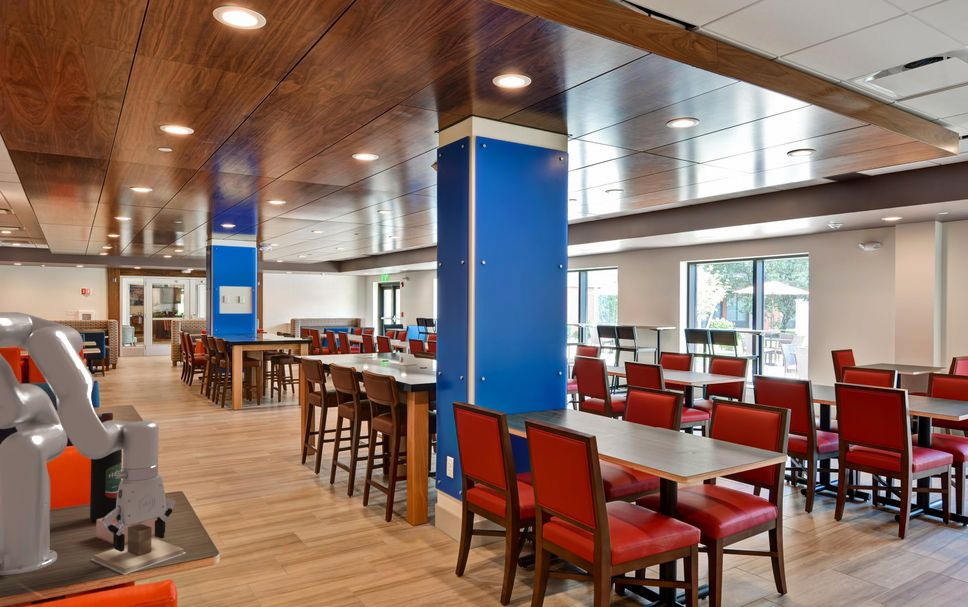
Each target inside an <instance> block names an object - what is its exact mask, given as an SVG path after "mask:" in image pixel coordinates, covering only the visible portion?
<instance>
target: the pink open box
mask: <svg viewBox="0 0 968 607" xmlns="http://www.w3.org/2000/svg"><path fill="white" fill-rule="evenodd" d="M101 520H102V518H101V519H97V521H96V523H95V524H96V528H95V529H96V531H95V532H96V534H95V537H96V538H97V539H99V540H102V541H104V542H107V543H108V544H111V545H113V533H111V532H110V531H109V530H107V529H106V527H105V526H104V524H103V522H102V521H101ZM155 520H157V518H155V519H151V520H148V521H145V522H141V523H138V524H143V525H146V526H149V527H152V536H151V537H153V536H154V537H155ZM111 522H112V524H113V525H115V524H116V522H117V521H116V517H115V518H114V519H112V521H111ZM134 525H137V524H134ZM130 526H133V525H127V527H126V528H125V530H124V531H123V532H122V534H124V535H125V545H128V527H130Z"/></svg>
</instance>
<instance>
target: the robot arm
mask: <svg viewBox="0 0 968 607" xmlns="http://www.w3.org/2000/svg"><path fill="white" fill-rule="evenodd" d="M83 346H84V340H83V337H82V335H81V334H80V333H79V331H78V330H77V329H75V328H73V327H71V326H69V325H65V324H63V323H58V322H55V321H52V320H48V319H45V318H41V317H38V316H35V315H32V314H27V313H23V312H18V311H17V312H16V311H15V312H14V311H3V312H2V311H0V349H1V348H3V349H5V348H14V347H15V348H19V349H23V350H26V351H27V352H28V354H29V356H30V358H31V359H32V361H33V362H34V364H35V366H36V368H37V369H38V370H39V372H40V373H41V375H42V377H43V378H44V380H45V382H46V383H47V385H48V386H49V388H50V390H51V391H52V393H53V395H54V396H55V399H56V400H55V401H56V408H57V409H56V408H55V406H54V403H53V401H52V400H51V397H50V396H49V395H48V393H47V392H46V391H45V390H44V389H43V388H42V387H40V386H38V385H36V384H32V383H31V384H30V383H20V382H19V381H18V379H17V377H16V374H15V373H14V370H13V368H12V366H11V364H10V363H9V362H8V361H7V360H6V358H5V357H3V355H2V354H1V353H0V429H1V430H5V429H11V428H14V427H15V429H16V432H14V433H12V434H10V435H9V436H7V437H6V438H5V439H4V440H3V441H1V443H0V576H7V575H8V576H9V575H18V574H25V573H29V572H33V571H37V570H40V569H43V568H45V567H47V566H50V565H51V564H53V563H55V562H56V560H57V559H58V552H57V551H55V550H52V549H50V542H51V541H50V539H51V538H50V537H51V536H50V535H51V534H50V532H51V478H50V474H49V471H48V466H47V463H49V462H52V461H54V460H55V459H57V458H59V457H60V456H61V455H62V454H63V453H64V452H65V450H66V448H67V445H68V440H69V441H70V442H71V444H72V445H73V447H74V448H75V450H76V451H77V452H78V453H80V455H81V456H83V457H85V458H86V459H89V460H91V459H100V458H103V457H105V456H107V455H109V454H111V453H112V452H115V451H117V450H120V449H122V472H121V473H118V474H117V477H118V478H121V481H120V485H119V489H118V494H117V501H116V508H115V509H114V510H113V511H111V512H110V513H109V514H107V515H106V516H105V517H103V518H102V520H101V521H102V522H103V524H104V526H105V527H106V529H107V530H109V531H110V532H111V533H113V544H112V545H113V549H115V550H118V551H120V552H122V551H124V549H125V545H126V544H125V535H124V534H122V532H123V531H124V530H125V528H126V527H127V525H134V524H138V523H141V522H145V521H148V520H151V519H155V518H157V520H155V535H154V538H157V539H164V538H165V534H166V522H168V519H169V517H170V515H172V513H173V509H174V507H175V506H176V500H175V499H172V498H169V497H166V493H165V486H164V480H163V476H162V474H159V438H160V437H159V432H160V431H159V429H160V428H159V424H158V423H157V422H155V421H152V420H138V421H126V420H119V419H117V420H115V419H113V420H109V421H105V422H103V423H102V420H100V418H99V416H98V415H97V413H96V411H95V409H94V406H93V402H92V391H93V388H94V384H95V378H94V376H93V375H92V372H91V371H90V370H89V368H88V366H87V365H86V364H85V362H84V360H83V359H82V357H81V356H80V353H81V351H82V349H83ZM115 517H116V521H117V522H116V524H115V525H113V524H112V522H111V521H112V519H114V518H115Z"/></svg>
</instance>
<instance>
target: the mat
mask: <svg viewBox="0 0 968 607" xmlns="http://www.w3.org/2000/svg"><path fill="white" fill-rule="evenodd" d="M185 554H187V552H185V551H183V553H182V554H179V555H176V556H173V557H171V558H168V559H165V560H162V561H159V562H156V563H153V564H150V565H147V566H145V567H142V568H139V569H136V570H133V571H130V572H127V573H124V572H121V571H119V570H117V569H115V568H112V567H110V566H108V565H106V564H103V563H101V562H99V561H96V560H94V558H92V559H90V560H91V561H92V562H95V563H97V564H100V565H101V566H103V567H106V568H108V569H110V570H112V571H114V572H117V573H120V574H121V575H124V576H125V575H128V574H130V573H133V572H136V571H139V570H142V569H145V568H147V567H151V566H153V565H157V564H158V563H161V562H165V561H168V560H170V559H173V558H176V557H179V556H182V555H185Z"/></svg>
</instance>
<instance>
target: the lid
mask: <svg viewBox="0 0 968 607" xmlns="http://www.w3.org/2000/svg"><path fill="white" fill-rule="evenodd" d="M183 552H184V548H183V547H179V546H177V545H173V544H172V543H169V542H167V541H163V540H160V539H159V538H156V537H153V536H152V527H149V526H146V525H143V524H137V525H133V526H130V527H128V544H125V549H124V551H122V552H120V551H118V550H115V548H113V549H109V550H106V551H103V552H99V553H96V554H94V555H93V559H94V560H96V561H99V562H101V563H103V564H106V565H108V566H110V567H112V568H115V569H117V570H119V571H121V572H124V573H127V572H130V571H133V570H136V569H139V568H142V567H145V566H147V565H150V564H153V563H156V562H159V561H162V560H165V559H168V558H171V557H173V556H176V555H179V554H182V553H183ZM182 555H183V554H182ZM179 556H180V555H179ZM171 559H172V558H171ZM168 560H169V559H168ZM165 561H166V560H165ZM162 562H163V561H162ZM159 563H160V562H159ZM156 564H157V563H156ZM145 568H146V567H145ZM142 569H143V568H142ZM139 570H140V569H139ZM136 571H137V570H136Z"/></svg>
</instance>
